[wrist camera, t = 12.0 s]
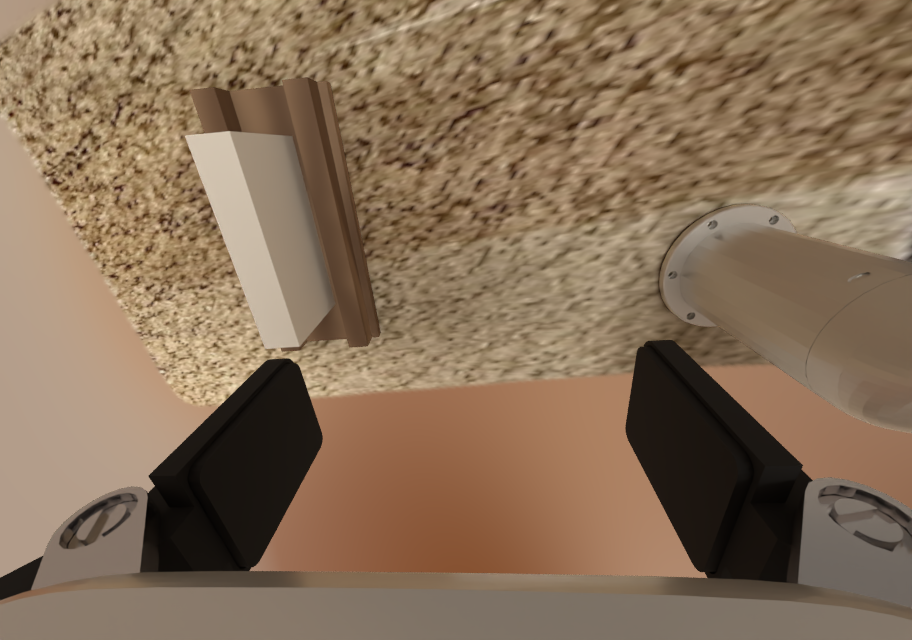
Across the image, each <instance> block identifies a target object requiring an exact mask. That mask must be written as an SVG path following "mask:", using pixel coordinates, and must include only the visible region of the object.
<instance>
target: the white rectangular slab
mask: <svg viewBox="0 0 912 640" xmlns="http://www.w3.org/2000/svg"><path fill="white" fill-rule="evenodd" d="M185 138H186V140H187V143H188V145H189V148H190V151H191V153H192V156H193V159H194V161H195V164H196V167H197V169H198V172H199V175H200V177H201V180H202V183H203V185H204V188H205V190H206V193H207V196H208V198H209V201H210V204H211V206H212V209H213V212H214V214H215V217H216V220H217V222H218V225H219V228H220V230H221V233H222V235H223V238H224V241H225V243H226V246H227V249H228V251H229V254H230V257H231V259H232V262H233V265H234V267H235V270H236V272H237V275H238V278H239V280H240V283H241V286H242V288H243V291H244V294H245V296H246V299H247V302H248V304H249V307H250V310H251V312H252V315H253V317H254V320H255V323H256V325H257V328H258V331H259V333H260V336H261V339H262V341H263V344H264V347H265V349H270V348H286V347H300V346H301V345H302V343H303V342H304V341H305V340H306V339H307V337H308V336H309V335H310V334H311V333H312V331H313V330H314V329H315V328H316V327H317V325H318V324H319V323H320V322H321V321H322V319H323V318H324V317H325V316H326V315H327V314H328V312H329V311H330V310H331V309H332V308H333V306H334V305H335V300H334V296H333V292H332V288H331V285H330V281H329V277H328V273H327V269H326V265H325V261H324V257H323V253H322V250H321V246H320V242H319V238H318V234H317V230H316V226H315V222H314V219H313V215H312V211H311V207H310V203H309V199H308V195H307V191H306V187H305V184H304V180H303V176H302V172H301V168H300V164H299V160H298V156H297V153H296V149H295V145H294V141H293V137H292V136H283V135H270V134H258V133H246V132H233V131H226V132H216V133H206V134H196V135H186V136H185Z"/></svg>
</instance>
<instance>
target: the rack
mask: <svg viewBox="0 0 912 640" xmlns="http://www.w3.org/2000/svg"><path fill="white" fill-rule="evenodd" d="M282 82H283V86H274V87H265V88H256V89H246V90H237V91H226V90H222V89H218V88H214V87H212V88H203V89H194V90H190V93H191V96H192V99H193V101H194V104H195V107H196V110H197V113H198V116H199V118H200V121H201V124H202V127H203V130H204V133H205V134H206V133H216V132H226V131H233V132H246V133H258V134H270V135H283V136H292V137H293V141H294V145H295V149H296V153H297V156H298V160H299V164H300V168H301V172H302V176H303V180H304V184H305V187H306V191H307V195H308V199H309V203H310V207H311V211H312V215H313V219H314V222H315V226H316V230H317V234H318V238H319V242H320V246H321V250H322V253H323V257H324V261H325V265H326V269H327V273H328V277H329V281H330V285H331V288H332V292H333V296H334V300H335V305H334V306H333V308H332V309H331V310H330V311H329V312H328V314H327V315H326V316H325V317H324V318H323V319H322V321H321V322H320V323H319V324H318V325H317V327H316V328H315V329H314V330H313V331H312V333H311V334H310V335H309V336H308V337H307V339H306V340H305V341H304V342H303V343H302V345H301V346H300V347H286V348H281V350H282V351H298V350H301V348H302V347H303V346H304V345H305V344H306V342H307V341H320V340H335V339H347V340H348V344H349V347H363V346H368V345H369V343H370V341H371V339H372V337H379V335H380V333H381V332H380V327H379V322H378V317H377V312H376V307H375V302H374V297H373V292H372V287H371V282H370V277H369V272H368V268H367V263H366V258H365V253H364V248H363V243H362V238H361V233H360V228H359V223H358V218H357V213H356V208H355V203H354V198H353V193H352V189H351V184H350V179H349V174H348V169H347V164H346V159H345V154H344V149H343V144H342V139H341V134H340V129H339V124H338V119H337V114H336V109H335V105H334V100H333V95H332V90H331V85H330V83H329V82H327V81H322V82H316V81H314V80H312V79H309V78H307V77H306V78H297V79H287V80H282Z"/></svg>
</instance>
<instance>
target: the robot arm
mask: <svg viewBox="0 0 912 640" xmlns="http://www.w3.org/2000/svg"><path fill="white" fill-rule="evenodd" d="M659 288H660V293H661V297H662V299H663V301H664V303H665V305H666V306H667V307H668V309H669V310H670V311H671V312H672V313H673V314H675V315H676V316H677V317H678V318H680V319H681V320H683V321H685V322H687V323H690V324H693V325H696V326H703V327H716V326H719V327H720V328H722V329H723V330H724V331H726V332H727V333H729V334H730V335H732V336H733V337H735V338H736V339H737V340H739V341H740V342H742V343H743V344H745V345H746V346H748V347H749V348H750V349H752V350H753V351H755V352H756V353H758V354H759V355H761V356H762V357H763V358H765V359H766V360H768V361H769V362H771V363H772V364H773V365H775V366H776V367H778V368H779V369H781V370H782V371H784V372H785V373H786V374H788V375H789V376H791V377H792V378H794V379H795V380H797V381H798V382H800V383H801V384H803V385H804V386H805V387H807V388H808V389H810V390H811V391H813V392H814V393H815V394H817V395H818V396H820V397H821V398H823V399H824V400H826V401H827V402H829V403H830V404H832V405H833V406H835V407H836V408H838V409H839V410H841V411H843V412H844V413H846V414H848V415H850V416H852V417H854V418H856V419H859V420H861V421H864V422H866V423H870V424H872V425H875V426H879V427H882V428H886V429H891V430H896V431H901V432H908V433H912V263H911V262H907V261H903V260H900V259H896V258H892V257H888V256H884V255H880V254H876V253H872V252H868V251H864V250H860V249H856V248H852V247H848V246H844V245H840V244H836V243H832V242H828V241H824V240H820V239H816V238H812V237H808V236H804V235H800V234H797V233H796V229H795V228H794V226H793V224H792V223H791V221H790V220H789V219H788V218H787V217H786V216H785V215H783V214H782V213H780V212H779V211H777V210H775V209H773V208H769V207H765V206H760V205H753V204H739V205H732V206H728V207H724V208H720V209H718V210H716V211H714V212H711V213H709V214H707V215H705V216H704V217H702V218H700V219H699V220H697V221H696V222H694V223H693V224H692V225H691V226H689V227H688V228H687V229H686V230H685V231H684V232H683V233H682V234H681V235H680V236H679V237H678V238H677V240H676V241H675V242H674V243H673V245H672V246H671V248H670V249H669V251H668V253H667V255H666V257H665V259H664V262H663V264H662V267H661V272H660V278H659ZM626 435H627V438H628V441H629V443H630V444H631V446H632V448H633V450H634V452H635V454H636V456H637V458H638V460H639V462H640V463H641V466H642V467H643V469H644V471H645V473H646V475H647V477H648V479H649V481H650V483H651V485H652V487H653V488H654V491H655V492H656V494H657V496H658V498H659V500H660V502H661V504H662V506H663V508H664V510H665V512H666V514H667V516H668V517H669V519H670V521H671V523H672V525H673V527H674V529H675V531H676V533H677V535H678V537H679V538H680V540H681V542H682V544H683V546H684V548H685V550H686V552H687V554H688V556H689V558H690V560H691V562H692V563H693V565H694V567H695V568H696V569H697V570H698V571H700V572H705V574H706V575H707V578H688V577H659V576H658V577H657V576H612V575H610V576H609V575H607V576H606V575H555V574H554V575H553V574H550V575H549V574H493V573H490V574H489V573H409V572H408V573H407V572H406V573H405V572H289V571H288V572H287V571H285V572H283V571H279V572H277V571H249V570H250V569H251V567H254V566H256V564H257V563H258V562H259V561H260V559H261V557H262V556H263V554H264V552H265V550H266V548H267V546H268V544H269V542H270V541H271V539H272V537H273V535H274V533H275V531H276V530H277V528H278V526H279V524H280V522H281V520H282V518H283V516H284V515H285V513H286V511H287V509H288V507H289V505H290V503H291V502H292V500H293V498H294V496H295V494H296V492H297V490H298V489H299V487H300V485H301V483H302V481H303V479H304V477H305V475H306V474H307V472H308V470H309V468H310V466H311V464H312V462H313V461H314V459H315V457H316V455H317V453H318V451H319V450H320V448H321V445H322V439H323V438H322V432H321V429H320V426H319V423H318V421H317V418H316V415H315V411H314V408H313V406H312V403H311V400H310V397H309V394H308V391H307V388H306V385H305V382H304V379H303V376H302V373H301V370H300V367H299V366H298V364H296V363H294V362H293V361H292V360H291V359H270V360H267V361H266V362H264V363H263V364H262V365H261V366H260V367H259V368H258V369H257V370H256V371H255V372H254V373H253V374H252V375H251V376H250V377H249V378H248V379H247V380H246V381H245V382H244V383H243V384H242V385H241V386H240V387H239V388H238V389H237V390H236V391H235V392H234V393H233V394H232V395H231V396H230V397H229V398H228V399H227V400H226V401H225V402H224V403H223V404H222V405H220V406H219V407H218V408H217V410H215V411H214V413H212V414H211V415H210V416H209V417H208V418H207V419H206V420H205V421H204V422H203V423H202V424H201V425H200V426H199V427H198V428H197V429H196V430H195V431H194V432H193V433H192V434H191V435H190V436H189V437H188V438H187V439H186V440H185V441H184V442H183V443H182V444H181V445H180V446H179V447H178V448H177V449H176V450H175V451H173V453H171V454H170V455H169V456H168V457H167V458H166V459H165V460H164V461H163V462H162V463H161V464H160V465H159V466H158V467H157V468H156V469H155V470H154V471H153V472H152V473H151V474H150V475H149V478H150V479H151V480H152V482H153V484H154V485H155V487H154V488H153V489H152V490H151V491H150V492H149V493H147V491H146V490H144V489H143V488H141V487H127V488H122V489H118V490H116V491H113V492H110V493H108V494H105V495H103V496H101V497H99V498H97V499H96V500H93V501H92V502H90V503H89V504H87V505H86V506H84V507H82V508H81V509H79V510H78V511H77V512H75V513H74V514H73V515H72V516H71V517H69V518H68V519H67V520H66V521H65V522H64V523H63V524H62V525H61V526H60V527H59V528H58V529H57V530H56V531H55V533H54V534H53V536H52V538H51V539H50V541H49V543H48V545H47V548H46V550H45V553H44V556H42V557H40V558H38V559H36V560H34V561H32V562H30V563H28V564H26V565H24V566H22V567H20V568H18V569H17V570H14V571H13V572H11V573H9V574H7V575H5V576H3V577H1V578H0V640H912V510H911V509H910V508H908V507H907V506H906V505H904V504H902V503H900V502H899V501H897V500H895V499H894V498H892V497H890V496H889V495H887V494H884V493H882V492H880V491H878V490H875V489H873V488H871V487H868V486H866V485H863V484H859V483H856V482H853V481H849V480H844V479H838V478H818V479H816V480H814V481H813V480H812V479H811V478H809V477H808V475H806V474H805V473H804V472H803V471H802V470H801V468H802V466H803V465H802V464H801V463H800V462H799V461H798V460H797V459H796V458H795V457H794V456H792V455H791V454H790V453H789V452H788V451H787V450H786V449H785V448H784V447H783V446H782V445H781V444H780V443H779V442H778V441H777V440H776V439H775V438H774V437H773V436H772V435H771V434H770V433H769V432H767V431H766V429H765V428H764V427H762V426H761V425H760V424H759V423H758V422H757V421H756V420H755V419H754V418H753V417H752V416H751V415H750V414H749V413H748V412H747V411H746V410H745V409H744V408H743V407H742V406H741V405H740V404H739V403H737V401H735V400H734V399H733V398H732V397H731V396H730V395H729V394H728V393H727V392H726V391H725V390H724V389H723V388H722V387H721V386H720V385H719V384H718V383H717V382H716V381H715V380H714V379H713V378H712V377H711V376H709V374H707V373H706V372H705V371H704V370H703V369H702V368H701V367H700V366H699V365H698V364H697V363H696V362H695V361H694V360H693V359H692V358H691V357H690V356H689V355H688V354H687V353H686V352H685V351H684V350H683V349H682V348H681V347H679V346H678V345H677V344H676V343H675V342H674V341H672V340H660V341H647V342H646V343H645V345H644V347H639V348H638V351H637V355H636V362H635V368H634V375H633V381H632V388H631V395H630V401H629V407H628V415H627V420H626Z"/></svg>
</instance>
